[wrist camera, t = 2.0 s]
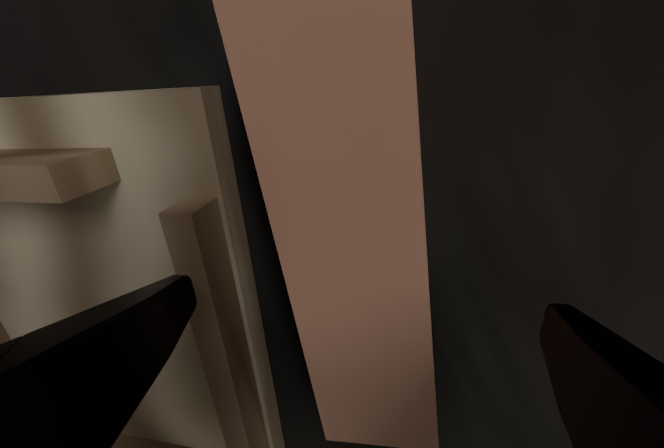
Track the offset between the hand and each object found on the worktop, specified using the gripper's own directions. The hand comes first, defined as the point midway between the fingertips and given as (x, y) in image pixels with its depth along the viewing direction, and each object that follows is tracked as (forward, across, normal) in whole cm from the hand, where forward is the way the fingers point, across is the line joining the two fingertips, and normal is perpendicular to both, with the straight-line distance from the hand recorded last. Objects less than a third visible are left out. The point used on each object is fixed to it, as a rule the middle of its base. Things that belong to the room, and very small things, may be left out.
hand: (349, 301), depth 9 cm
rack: (+4, +13, +6) cm, 15 cm away
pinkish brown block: (+5, 0, 0) cm, 5 cm away
